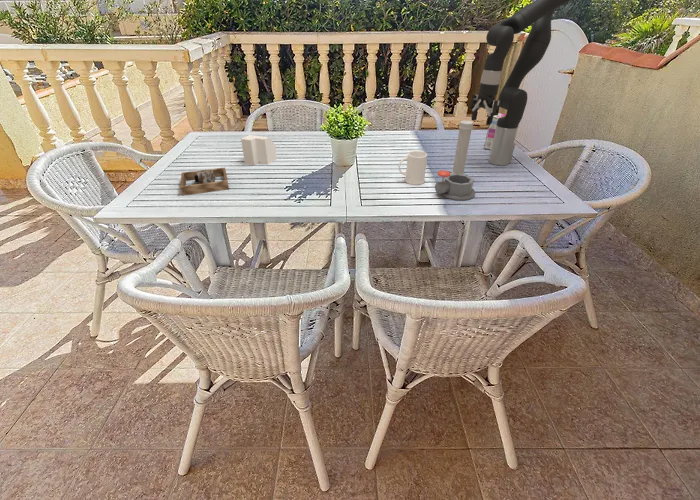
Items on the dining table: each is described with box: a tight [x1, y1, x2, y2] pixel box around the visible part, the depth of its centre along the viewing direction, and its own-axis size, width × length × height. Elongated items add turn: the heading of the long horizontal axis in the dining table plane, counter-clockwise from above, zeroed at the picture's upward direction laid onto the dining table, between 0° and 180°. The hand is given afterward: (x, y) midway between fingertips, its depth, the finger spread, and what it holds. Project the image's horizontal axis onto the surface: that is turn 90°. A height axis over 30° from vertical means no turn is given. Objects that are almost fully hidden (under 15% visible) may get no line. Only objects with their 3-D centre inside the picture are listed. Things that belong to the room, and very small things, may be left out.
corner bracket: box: [240, 134, 278, 166], centre depth 175 cm, size 11×11×12 cm
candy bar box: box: [483, 112, 506, 151], centre depth 191 cm, size 11×5×16 cm, turn 144°
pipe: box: [450, 106, 474, 175], centre depth 153 cm, size 6×6×30 cm
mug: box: [398, 150, 428, 186], centre depth 156 cm, size 12×8×12 cm
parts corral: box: [179, 167, 230, 196], centre depth 155 cm, size 18×16×4 cm
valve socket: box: [434, 169, 476, 202], centre depth 146 cm, size 17×14×10 cm
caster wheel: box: [194, 169, 216, 184], centre depth 155 cm, size 7×11×10 cm
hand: (480, 122), depth 160 cm, fingers open, 8 cm apart
